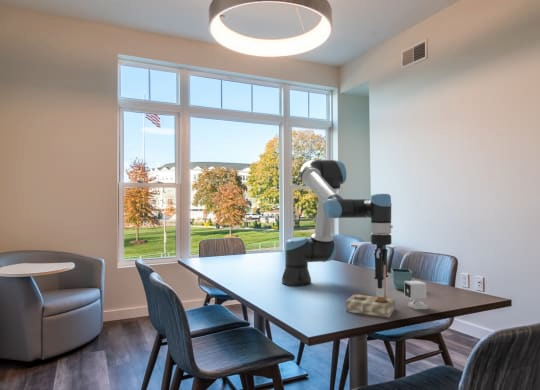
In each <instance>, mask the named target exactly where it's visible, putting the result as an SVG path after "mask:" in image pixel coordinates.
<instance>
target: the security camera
mask: <svg viewBox="0 0 540 390" xmlns="http://www.w3.org/2000/svg"><path fill="white" fill-rule="evenodd" d="M403 293H404V295H403V296H404V297H405V298H407V299H408V300H410V302H408V307H410V308H412V309H414V310H428V309H429V305H428V304H425V303H424V302H422V301H423V300H425V301H426V300H427V283H426V282H423V281H420V280H411V281H404V290H403ZM412 300H413V301H412ZM411 301H412V302H411Z"/></svg>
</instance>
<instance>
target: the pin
mask: <svg viewBox="0 0 540 390" xmlns="http://www.w3.org/2000/svg"><path fill="white" fill-rule="evenodd" d="M383 278H384V297H378V296H377V295H376V297H377V302H379V303H386V298H387V277H386V265H384V277H383Z"/></svg>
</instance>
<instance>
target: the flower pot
mask: <svg viewBox="0 0 540 390" xmlns="http://www.w3.org/2000/svg"><path fill="white" fill-rule="evenodd" d="M390 271H391V279H392V283H393V285H394V287H395V289H396V290H403V291H404V281H412V277H413V272H412V270H411V269H409V268H390Z"/></svg>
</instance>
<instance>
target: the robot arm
mask: <svg viewBox="0 0 540 390" xmlns="http://www.w3.org/2000/svg"><path fill="white" fill-rule="evenodd" d="M299 178H300V181H301V182H302V184H304V185H305V186H306V187H308V188H310V190H311V191H312V192H313V193H314V195H316V197H317V198H318V200H317V201H318V203H317V208H316V209H317V210H316V220H315V228H314V233H312V234H311V237H310V239H309V238H308V237H306V236H301V237H300V236H299V237H292V238H289V239H287V240H286V241H285V247H284V251H285V259H284V261H285V268H284V272H283V274H282V276H281V277H282V278H281V284H283V285H285V284H286V286H290V285H291V286H292V287H304V286H308V285H311V284H312V277H311V274H310V271H309V268H308V267H309V263H318V262H319V263H326V262H331V261H332V260H334V259H335V257H336V256H337V255H336V254H337V252H338V251H337V250H338V248H337V242H336V240H334V238H335V237H333V235H332V232H333V231H332V229H333V223H334V219H345V218H346V219H348V218H349V219H350V218H354V219H357V218H358V219H359V218H360V219H361V218H364V219H370V233H371V235H370V244H371V245H376V249H374V254H373V255H374V273H375V274H374V278H373V279H374V280H376V297H377V296H378V297H384V278H383V277H384V265H386V278H389V275H388V249H387V246H389V245H392V235H391V233H392V229H393V227H394V226H393V225H392V199H391V198H392V197H391V194H388V193H372V194H371V195H370V198H369V199H367V198H366V199H365V198H364V199H360V198H359V199H358V198H355V199H354V198H353V199H352V198H349V199H348V198H343V197H342V196H341V195H340V194H339V193H338V192H337V191H338V190H340V189H341V185H343V184H345V183H346V180H347V168H346V167H345V165H344V163H343V162H342V161H340V160H335V159H310V160H309V161H308V160H307V162H305V163H303V165H302V166H301V167H300V170H299Z"/></svg>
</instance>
